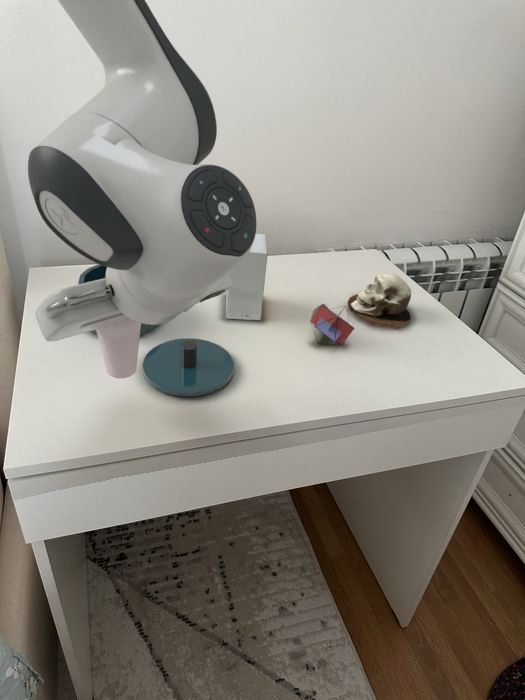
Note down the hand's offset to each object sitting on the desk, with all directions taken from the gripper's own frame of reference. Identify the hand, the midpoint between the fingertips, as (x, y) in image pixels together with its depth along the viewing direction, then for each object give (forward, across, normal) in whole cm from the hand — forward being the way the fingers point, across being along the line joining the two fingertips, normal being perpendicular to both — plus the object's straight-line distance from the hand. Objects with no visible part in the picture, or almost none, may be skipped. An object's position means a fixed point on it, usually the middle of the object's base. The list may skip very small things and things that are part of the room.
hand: (116, 316), depth 65 cm
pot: (+25, +10, +4) cm, 27 cm away
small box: (+19, +30, -2) cm, 36 cm away
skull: (+9, +51, -11) cm, 53 cm away
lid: (+11, +12, -8) cm, 18 cm away
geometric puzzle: (+8, +36, -13) cm, 39 cm away
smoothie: (+5, 0, -6) cm, 8 cm away
